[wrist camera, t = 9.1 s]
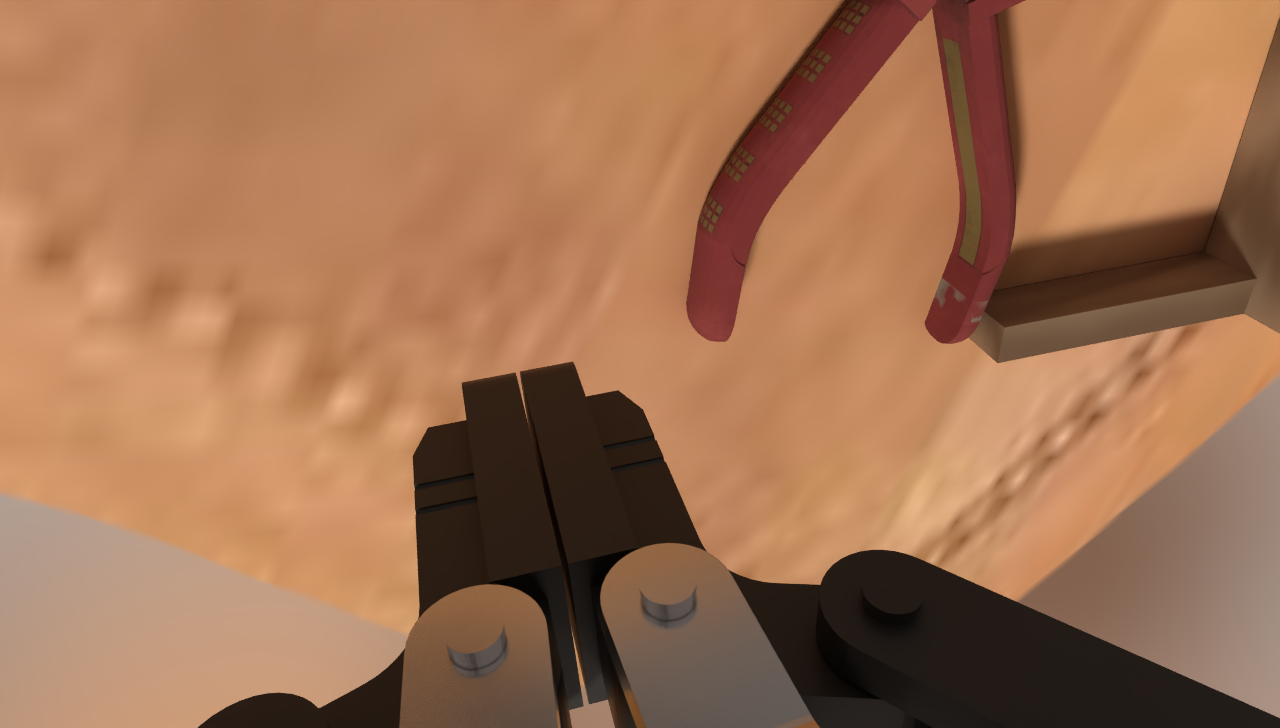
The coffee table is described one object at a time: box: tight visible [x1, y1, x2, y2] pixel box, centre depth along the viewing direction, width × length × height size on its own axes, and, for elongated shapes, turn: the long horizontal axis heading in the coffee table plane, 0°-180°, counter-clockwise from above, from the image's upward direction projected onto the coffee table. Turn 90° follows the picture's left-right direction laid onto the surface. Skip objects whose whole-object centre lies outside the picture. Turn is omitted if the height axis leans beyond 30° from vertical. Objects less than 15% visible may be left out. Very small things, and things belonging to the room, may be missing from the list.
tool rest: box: [969, 20, 1280, 363], centre depth 26 cm, size 21×12×5 cm, turn 4°
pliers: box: [686, 0, 1025, 344], centre depth 25 cm, size 11×20×3 cm, turn 172°
